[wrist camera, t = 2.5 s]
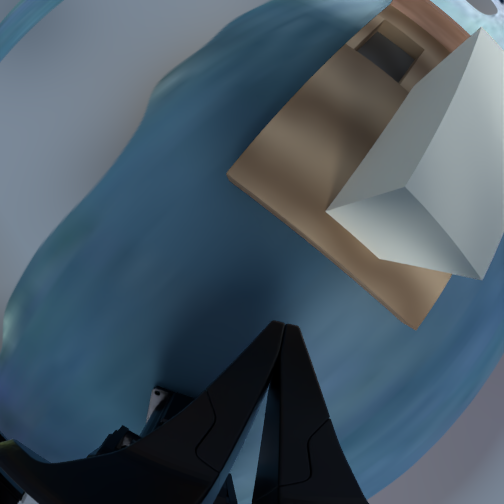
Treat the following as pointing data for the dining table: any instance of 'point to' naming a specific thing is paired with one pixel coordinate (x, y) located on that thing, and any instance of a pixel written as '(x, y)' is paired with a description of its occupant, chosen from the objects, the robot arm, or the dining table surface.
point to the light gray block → (437, 169)
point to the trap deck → (350, 145)
